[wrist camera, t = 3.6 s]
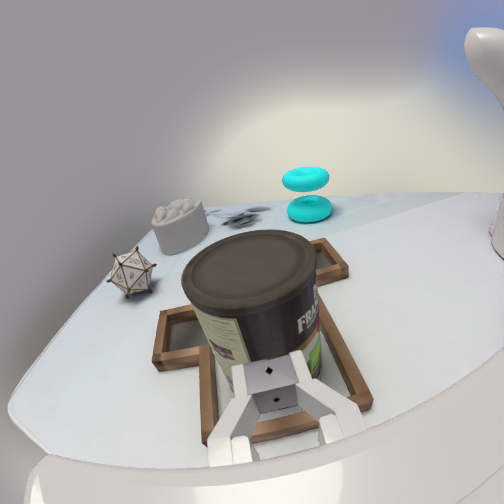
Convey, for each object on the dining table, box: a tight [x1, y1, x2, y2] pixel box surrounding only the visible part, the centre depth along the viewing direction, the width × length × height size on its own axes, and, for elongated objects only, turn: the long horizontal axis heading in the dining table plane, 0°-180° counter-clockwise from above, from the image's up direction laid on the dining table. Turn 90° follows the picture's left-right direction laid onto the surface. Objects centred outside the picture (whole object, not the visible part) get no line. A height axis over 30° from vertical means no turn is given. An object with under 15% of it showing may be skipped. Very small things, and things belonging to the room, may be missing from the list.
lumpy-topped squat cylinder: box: [152, 198, 209, 255], centre depth 59 cm, size 10×13×9 cm
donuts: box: [282, 167, 332, 222], centre depth 57 cm, size 10×10×10 cm
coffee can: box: [181, 230, 322, 393], centre depth 24 cm, size 10×10×14 cm
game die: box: [106, 246, 157, 298], centre depth 44 cm, size 9×8×10 cm
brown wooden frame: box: [152, 238, 374, 448], centre depth 35 cm, size 27×35×2 cm
